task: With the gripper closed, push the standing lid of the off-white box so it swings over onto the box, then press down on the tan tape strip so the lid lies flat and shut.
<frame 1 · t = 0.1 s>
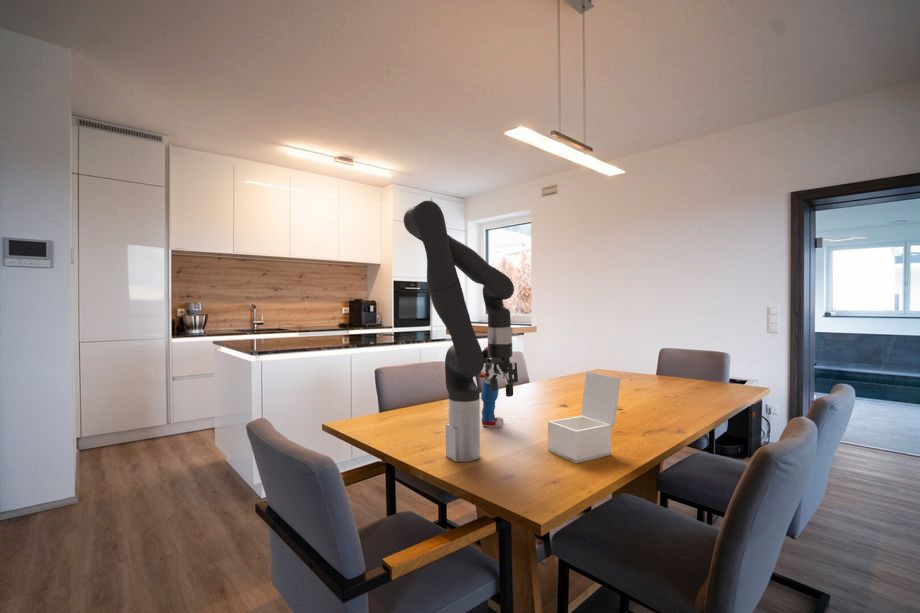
hand: (501, 393, 133), 17 cm above the table, tool pointing down, fingers open, 8 cm apart
toy: (493, 425, 161), on the table
box: (579, 452, 130), on the table
lid: (600, 397, 134), point 16 cm above the table, hinge at 100.0°
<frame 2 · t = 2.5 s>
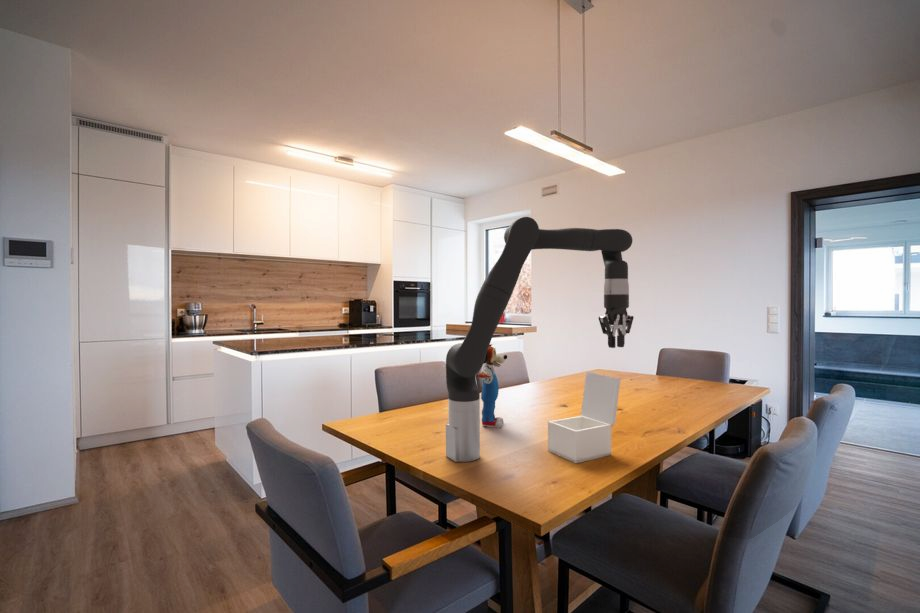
hand: (616, 347, 137), 31 cm above the table, tool pointing down, fingers open, 3 cm apart
nothing on the table moved.
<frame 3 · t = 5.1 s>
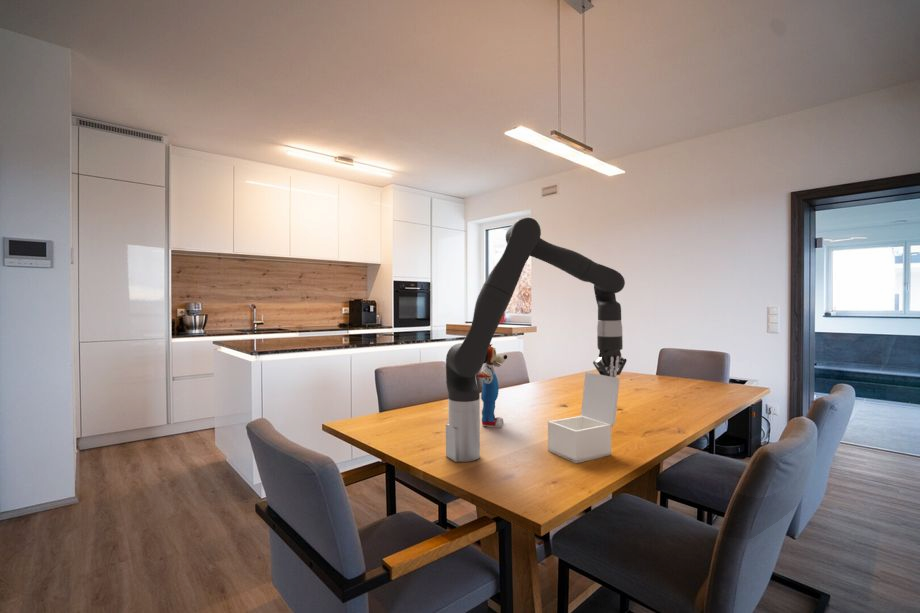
hand: (610, 389, 136), 18 cm above the table, tool pointing down, fingers closed
lid: (599, 397, 134), point 16 cm above the table, hinge at 98.5°, touching gripper
everything else where it was.
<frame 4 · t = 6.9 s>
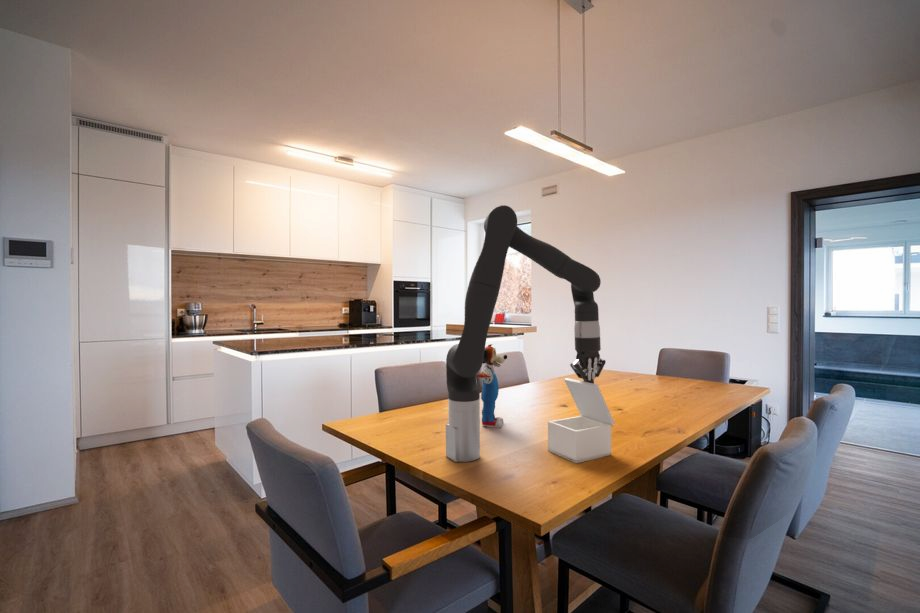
hand: (589, 391, 132), 18 cm above the table, tool pointing down, fingers closed
lid: (588, 400, 132), point 15 cm above the table, hinge at 60.2°, touching box
everything else where it was.
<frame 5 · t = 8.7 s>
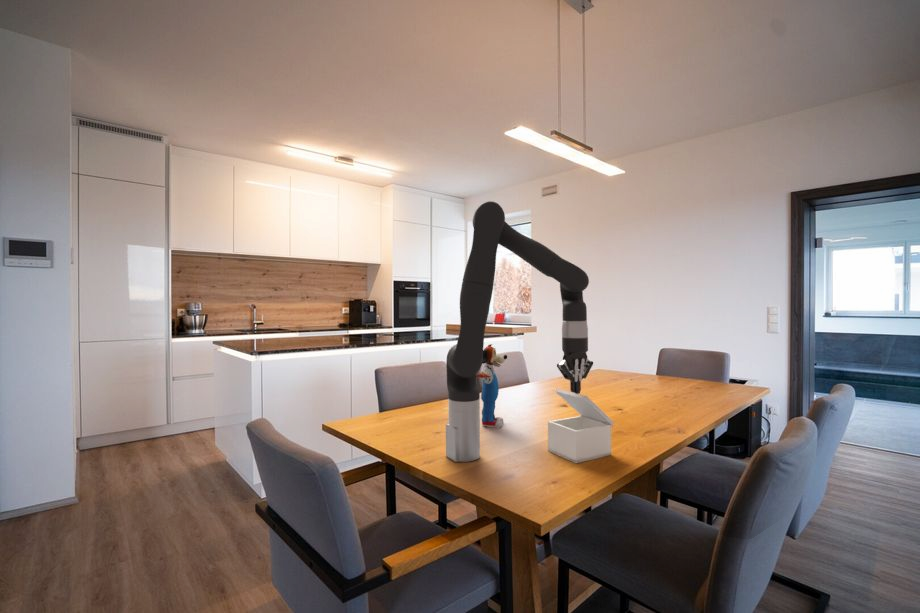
hand: (575, 393, 129), 18 cm above the table, tool pointing down, fingers closed
lid: (584, 406, 131), point 14 cm above the table, hinge at 39.5°, touching gripper
everything else where it was.
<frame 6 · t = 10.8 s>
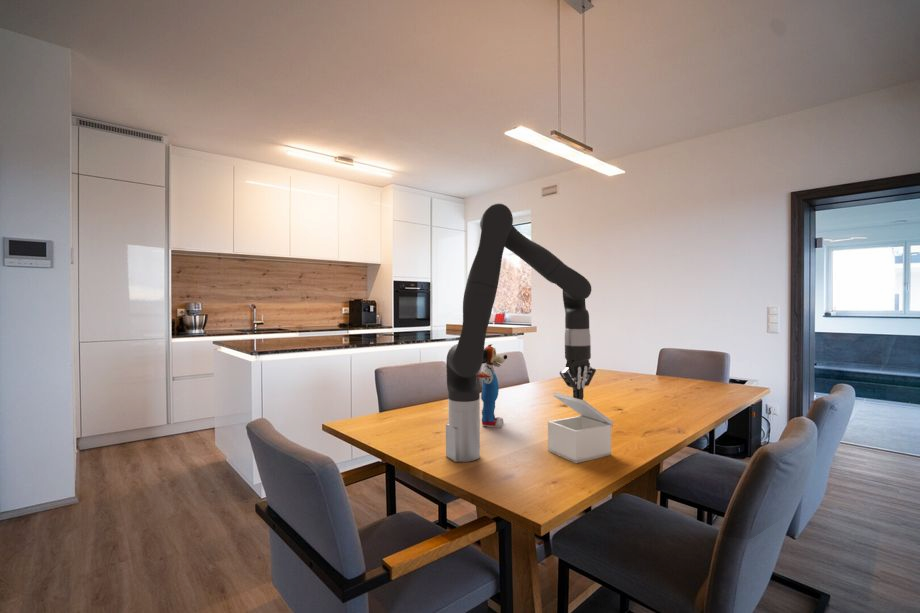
hand: (578, 400, 130), 16 cm above the table, tool pointing down, fingers closed
lid: (582, 408, 131), point 13 cm above the table, hinge at 33.3°, touching box, gripper
everything else where it was.
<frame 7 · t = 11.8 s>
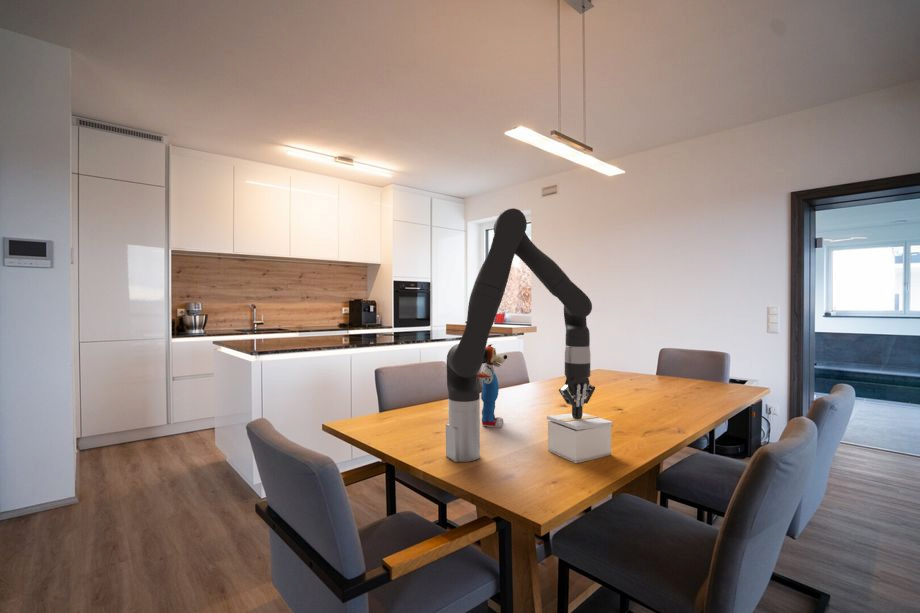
hand: (577, 418, 130), 11 cm above the table, tool pointing down, fingers closed
lid: (579, 420, 130), point 10 cm above the table, hinge at 2.2°, touching box, gripper
everything else where it was.
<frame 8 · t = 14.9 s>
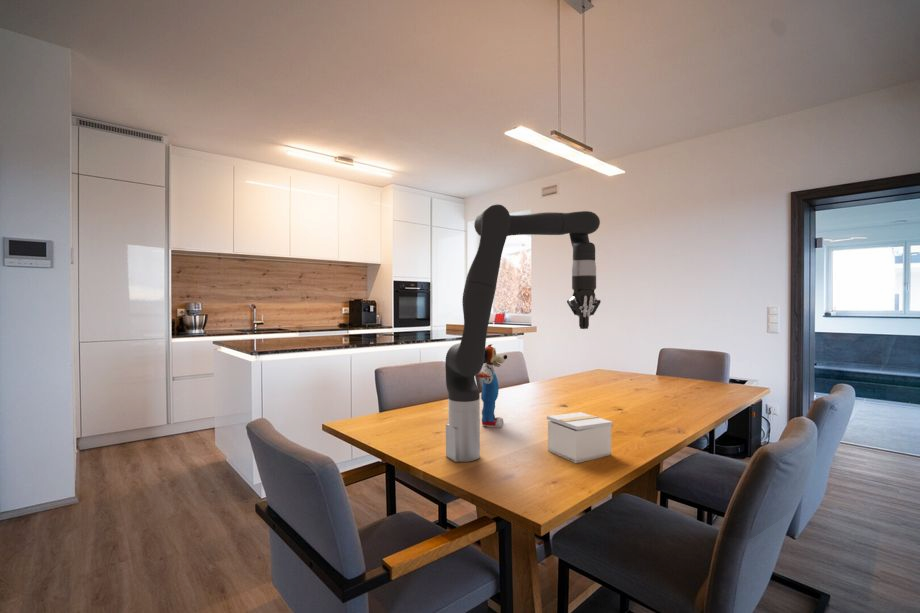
hand: (584, 328, 139), 37 cm above the table, tool pointing down, fingers closed
lid: (579, 420, 130), point 10 cm above the table, hinge at 2.1°, touching box
everything else where it was.
at the end: lid at +2° (first picture: +100°); lid touching box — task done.
